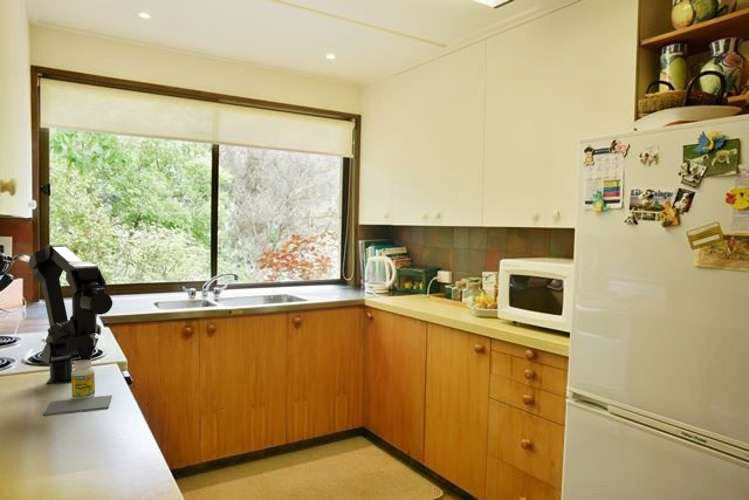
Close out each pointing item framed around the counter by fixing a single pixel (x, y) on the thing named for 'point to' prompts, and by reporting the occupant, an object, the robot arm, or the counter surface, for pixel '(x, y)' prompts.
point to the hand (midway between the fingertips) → (85, 366)
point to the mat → (78, 405)
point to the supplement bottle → (83, 380)
